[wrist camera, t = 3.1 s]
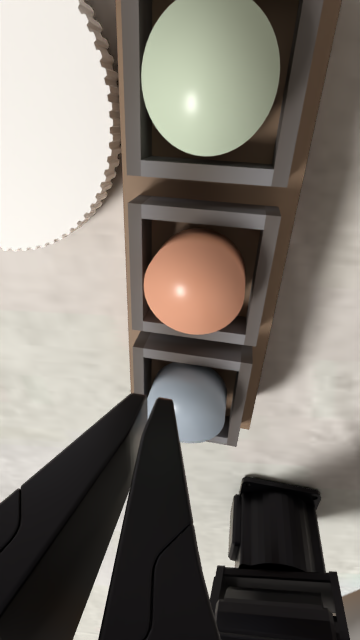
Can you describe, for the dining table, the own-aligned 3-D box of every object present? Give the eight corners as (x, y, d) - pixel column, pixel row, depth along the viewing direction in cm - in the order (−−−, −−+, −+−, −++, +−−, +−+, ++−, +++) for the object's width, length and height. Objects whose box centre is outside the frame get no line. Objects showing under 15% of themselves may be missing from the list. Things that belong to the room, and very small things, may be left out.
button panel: (331, -9, 14) (365, -64, 10) (249, 397, 25) (248, 452, 21) (137, -10, 15) (93, -59, 11) (143, 381, 26) (123, 429, 22)
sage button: (287, 6, 11) (294, -15, 9) (264, 155, 13) (266, 160, 12) (156, 4, 12) (140, -15, 10) (155, 147, 14) (142, 152, 12)
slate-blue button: (231, 366, 19) (229, 391, 17) (222, 422, 21) (220, 449, 19) (154, 355, 19) (144, 378, 18) (153, 410, 22) (145, 435, 20)
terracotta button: (252, 232, 15) (252, 247, 13) (239, 318, 17) (237, 340, 16) (155, 223, 16) (143, 236, 14) (154, 307, 18) (144, 328, 16)
